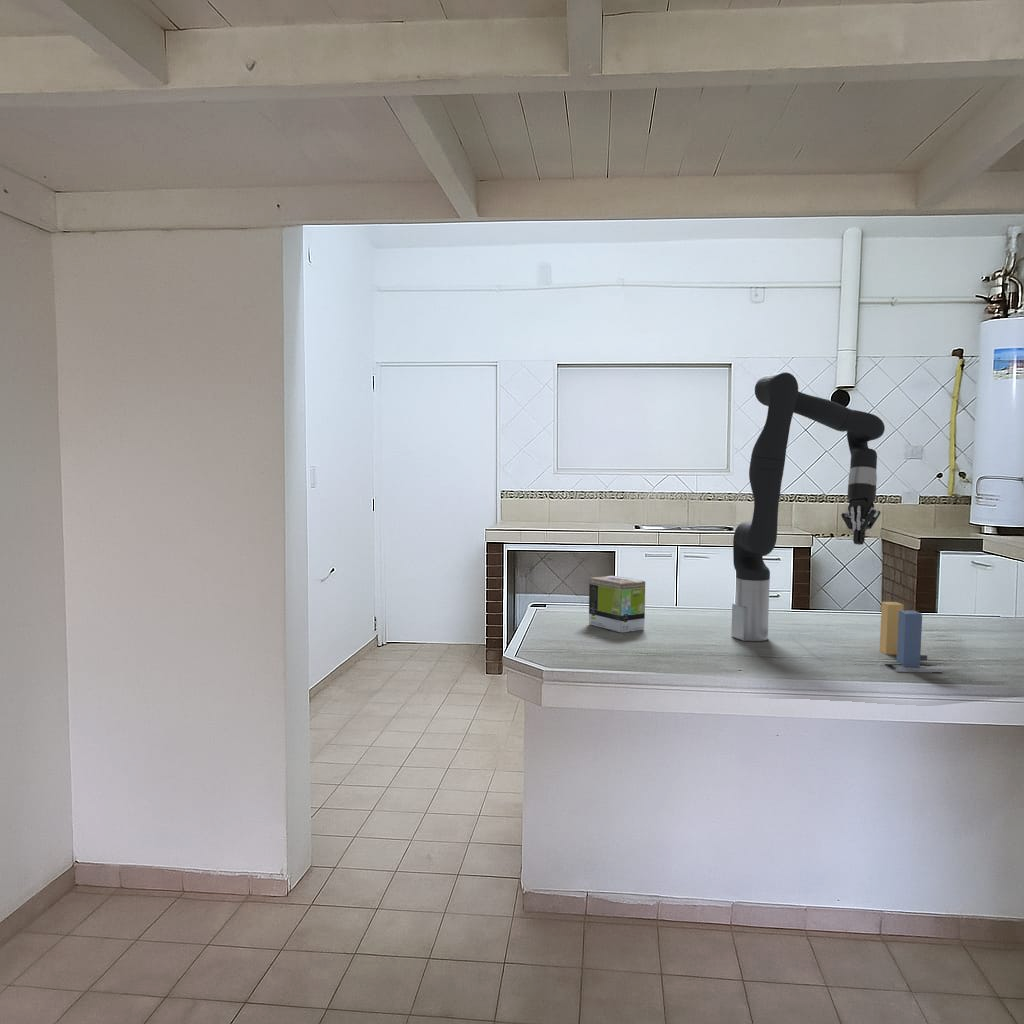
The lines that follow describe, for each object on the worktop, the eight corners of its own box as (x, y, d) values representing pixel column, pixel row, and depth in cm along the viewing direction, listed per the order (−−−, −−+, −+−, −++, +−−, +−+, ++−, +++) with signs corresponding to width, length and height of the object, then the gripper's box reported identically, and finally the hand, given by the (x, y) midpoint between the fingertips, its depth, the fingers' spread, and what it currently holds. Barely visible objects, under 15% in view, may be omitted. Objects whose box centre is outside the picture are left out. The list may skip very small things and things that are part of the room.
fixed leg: (929, 666, 206) (932, 614, 205) (903, 665, 206) (905, 613, 205) (922, 662, 210) (924, 610, 209) (896, 661, 210) (898, 610, 209)
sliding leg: (911, 654, 216) (913, 605, 215) (885, 654, 217) (887, 604, 216) (904, 651, 220) (906, 602, 219) (879, 650, 221) (881, 601, 220)
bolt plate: (942, 672, 204) (942, 668, 204) (896, 671, 204) (896, 667, 204) (897, 647, 230) (897, 643, 230) (856, 646, 230) (856, 642, 230)
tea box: (645, 629, 249) (646, 580, 248) (620, 633, 244) (621, 583, 242) (612, 621, 262) (613, 574, 261) (587, 624, 256) (588, 576, 255)
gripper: (835, 485, 246) (831, 543, 243) (870, 479, 233) (866, 540, 231) (854, 489, 248) (851, 547, 246) (890, 484, 236) (887, 545, 234)
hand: (858, 544), depth 238 cm, fingers closed
